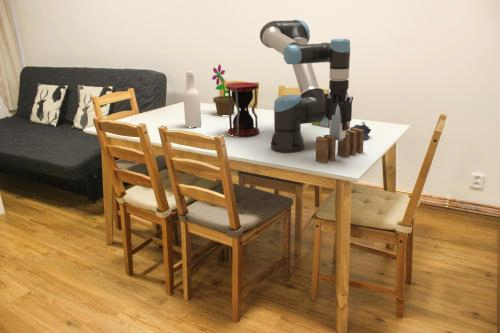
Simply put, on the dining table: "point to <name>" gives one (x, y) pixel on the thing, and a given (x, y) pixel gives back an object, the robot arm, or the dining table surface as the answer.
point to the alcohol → (191, 102)
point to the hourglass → (242, 109)
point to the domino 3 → (336, 126)
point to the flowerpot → (221, 101)
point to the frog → (363, 127)
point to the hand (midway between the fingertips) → (337, 136)
